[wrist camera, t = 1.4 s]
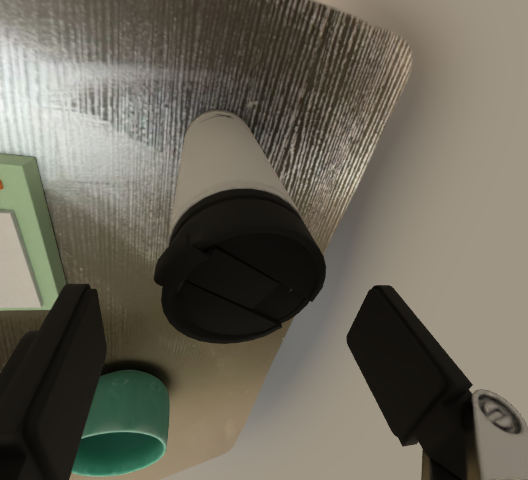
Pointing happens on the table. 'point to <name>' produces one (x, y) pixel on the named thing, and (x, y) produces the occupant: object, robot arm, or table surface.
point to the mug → (124, 425)
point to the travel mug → (234, 240)
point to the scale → (26, 239)
